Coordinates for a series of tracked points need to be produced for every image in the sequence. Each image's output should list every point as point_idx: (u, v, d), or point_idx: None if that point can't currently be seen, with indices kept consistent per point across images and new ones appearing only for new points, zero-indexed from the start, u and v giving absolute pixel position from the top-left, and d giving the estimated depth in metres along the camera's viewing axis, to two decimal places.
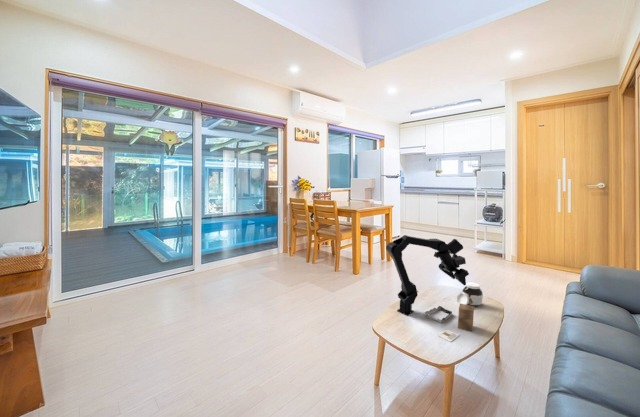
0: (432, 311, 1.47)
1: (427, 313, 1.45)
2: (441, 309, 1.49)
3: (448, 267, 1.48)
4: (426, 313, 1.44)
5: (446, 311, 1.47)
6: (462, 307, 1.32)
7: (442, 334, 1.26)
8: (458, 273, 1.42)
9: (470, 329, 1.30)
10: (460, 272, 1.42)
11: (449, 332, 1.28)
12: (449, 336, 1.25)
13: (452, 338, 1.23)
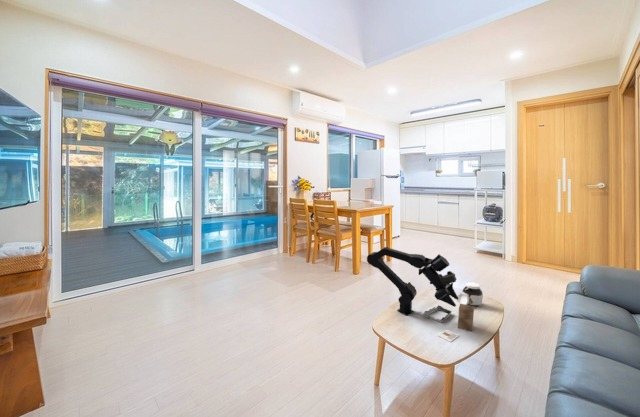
0: (431, 311, 1.48)
1: (426, 313, 1.45)
2: (440, 309, 1.50)
3: (434, 285, 1.38)
4: (425, 313, 1.45)
5: (445, 311, 1.47)
6: (462, 307, 1.32)
7: (442, 334, 1.26)
8: (436, 292, 1.32)
9: (470, 329, 1.30)
10: (437, 291, 1.31)
11: (449, 332, 1.28)
12: (449, 336, 1.25)
13: (452, 338, 1.23)
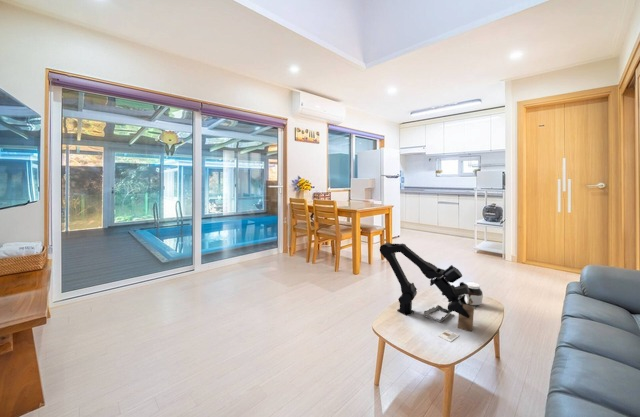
0: (431, 310, 1.48)
1: (426, 312, 1.46)
2: (440, 308, 1.50)
3: (446, 296, 1.35)
4: (425, 312, 1.45)
5: (445, 310, 1.48)
6: None
7: (442, 334, 1.26)
8: (449, 304, 1.29)
9: (470, 329, 1.30)
10: (450, 303, 1.29)
11: (449, 332, 1.28)
12: (449, 336, 1.25)
13: (452, 338, 1.23)
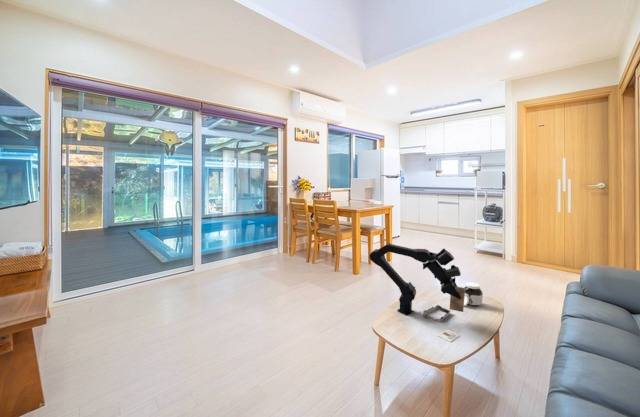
0: (430, 310, 1.48)
1: (425, 312, 1.46)
2: (439, 308, 1.50)
3: (438, 279, 1.38)
4: (424, 312, 1.45)
5: (444, 310, 1.48)
6: None
7: (442, 334, 1.26)
8: (442, 286, 1.32)
9: (461, 310, 1.33)
10: (444, 285, 1.31)
11: (449, 332, 1.28)
12: (449, 336, 1.25)
13: (452, 338, 1.23)
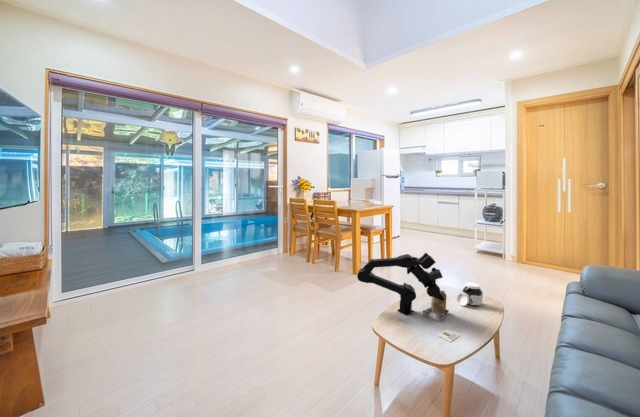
0: (429, 310, 1.49)
1: (424, 312, 1.46)
2: None
3: (422, 282, 1.43)
4: (423, 312, 1.46)
5: None
6: None
7: (442, 334, 1.26)
8: (428, 290, 1.37)
9: (444, 312, 1.41)
10: (429, 288, 1.37)
11: (449, 332, 1.28)
12: (449, 336, 1.25)
13: (452, 338, 1.23)
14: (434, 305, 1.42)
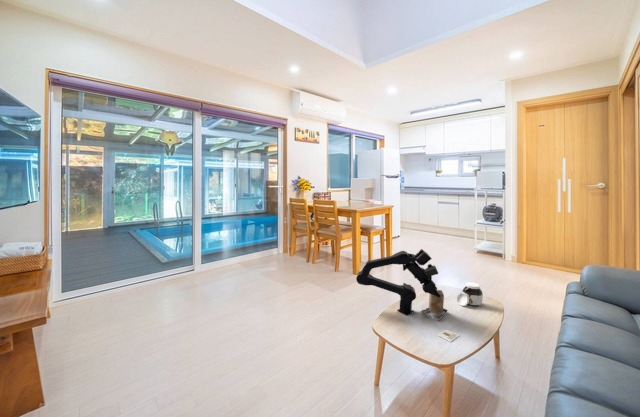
0: (428, 310, 1.49)
1: (423, 312, 1.47)
2: None
3: (418, 279, 1.44)
4: (422, 312, 1.46)
5: None
6: None
7: (442, 334, 1.26)
8: (424, 286, 1.37)
9: (441, 311, 1.42)
10: (425, 284, 1.37)
11: (449, 332, 1.28)
12: (449, 336, 1.25)
13: (452, 338, 1.23)
14: (432, 304, 1.43)
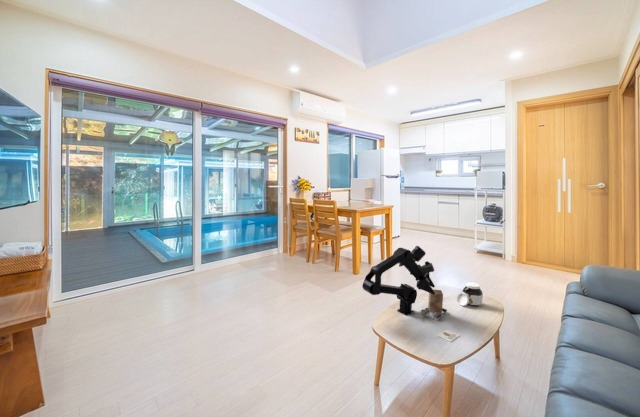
0: (427, 309, 1.50)
1: (423, 311, 1.47)
2: None
3: (414, 275, 1.44)
4: (422, 311, 1.46)
5: None
6: None
7: (442, 334, 1.26)
8: (417, 282, 1.38)
9: (440, 311, 1.42)
10: (419, 281, 1.38)
11: (449, 332, 1.28)
12: (449, 336, 1.25)
13: (452, 338, 1.23)
14: (431, 304, 1.43)
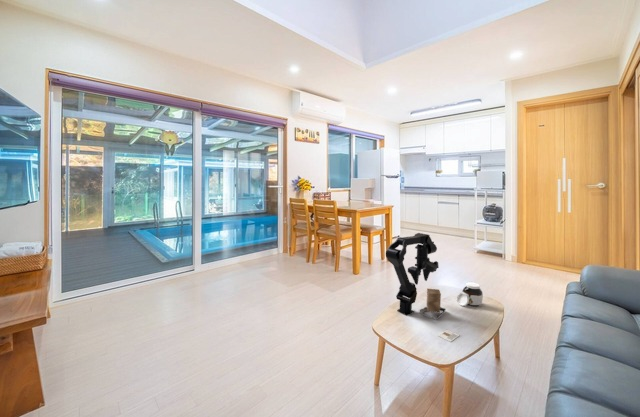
0: (426, 309, 1.50)
1: (421, 311, 1.48)
2: None
3: None
4: (421, 311, 1.47)
5: None
6: (430, 291, 1.45)
7: (442, 334, 1.26)
8: (411, 267, 1.51)
9: (438, 310, 1.43)
10: (412, 267, 1.50)
11: (449, 332, 1.28)
12: (449, 336, 1.25)
13: (452, 338, 1.23)
14: (429, 303, 1.44)
